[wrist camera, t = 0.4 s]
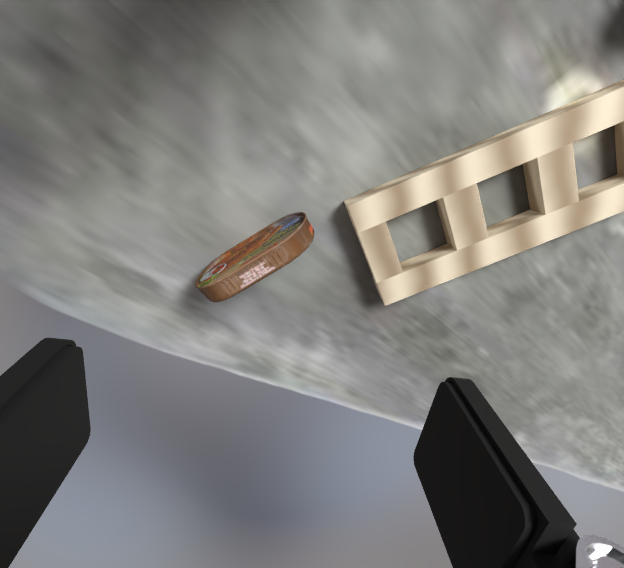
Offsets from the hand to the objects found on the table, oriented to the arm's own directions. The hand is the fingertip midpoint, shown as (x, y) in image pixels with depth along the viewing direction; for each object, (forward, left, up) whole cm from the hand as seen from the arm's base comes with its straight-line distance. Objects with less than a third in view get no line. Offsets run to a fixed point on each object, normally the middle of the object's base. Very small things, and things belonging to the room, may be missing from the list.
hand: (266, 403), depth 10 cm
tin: (+5, -6, -37) cm, 37 cm away
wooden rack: (+11, +24, -36) cm, 45 cm away
